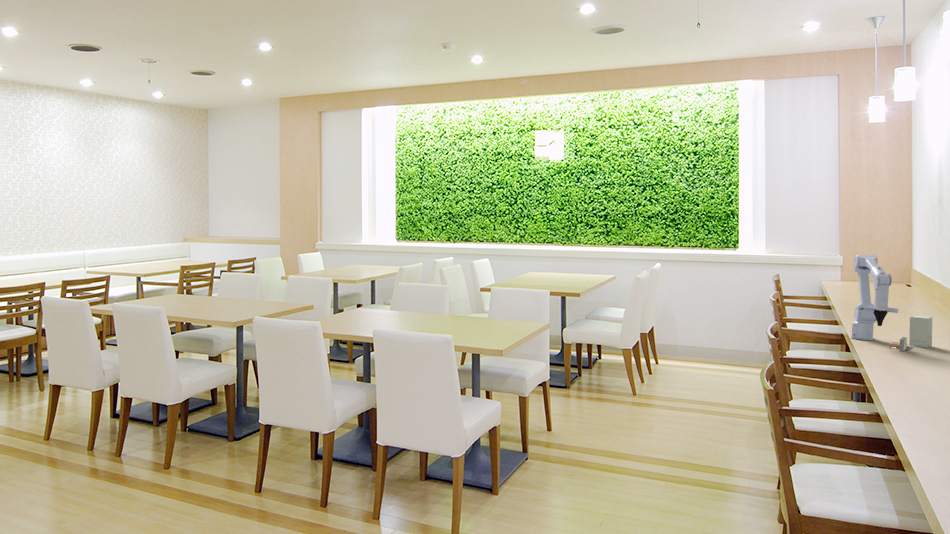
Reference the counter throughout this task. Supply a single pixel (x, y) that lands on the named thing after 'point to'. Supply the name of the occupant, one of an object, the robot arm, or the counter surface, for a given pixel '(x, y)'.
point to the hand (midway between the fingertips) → (879, 325)
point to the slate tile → (903, 344)
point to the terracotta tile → (895, 344)
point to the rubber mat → (907, 348)
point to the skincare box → (920, 331)
